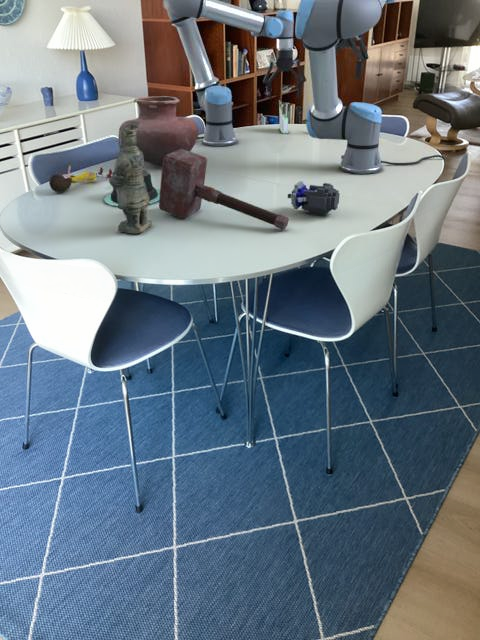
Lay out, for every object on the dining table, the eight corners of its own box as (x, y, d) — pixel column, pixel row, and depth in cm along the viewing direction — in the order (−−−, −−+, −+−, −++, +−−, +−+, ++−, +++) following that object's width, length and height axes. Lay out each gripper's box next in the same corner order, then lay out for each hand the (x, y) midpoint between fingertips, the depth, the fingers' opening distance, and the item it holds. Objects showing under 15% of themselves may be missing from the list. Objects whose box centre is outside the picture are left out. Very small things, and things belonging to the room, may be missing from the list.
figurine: (118, 166, 204) (64, 174, 185) (119, 186, 207) (65, 196, 188) (93, 161, 211) (38, 168, 191) (95, 181, 214) (40, 190, 195)
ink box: (285, 129, 277) (285, 99, 270) (288, 133, 268) (288, 102, 261) (278, 129, 277) (278, 99, 269) (281, 133, 268) (281, 103, 261)
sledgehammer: (299, 190, 156) (179, 147, 167) (285, 200, 148) (161, 154, 160) (286, 244, 166) (174, 200, 177) (272, 256, 158) (156, 209, 170)
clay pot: (207, 155, 234) (203, 91, 222) (188, 175, 209) (184, 105, 196) (138, 153, 239) (131, 91, 226) (112, 172, 214) (103, 104, 201)
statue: (131, 220, 168) (117, 116, 152) (158, 224, 164) (147, 118, 149) (109, 233, 159) (93, 124, 144) (138, 237, 156) (124, 126, 140)
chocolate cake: (91, 202, 180) (113, 186, 197) (142, 231, 182) (160, 212, 199) (107, 162, 172) (129, 148, 190) (160, 192, 174) (177, 176, 192)
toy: (295, 178, 172) (342, 184, 166) (295, 205, 177) (340, 211, 171) (285, 186, 166) (333, 192, 160) (284, 213, 170) (331, 220, 164)
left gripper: (310, 47, 258) (308, 96, 268) (256, 49, 256) (257, 98, 267) (313, 48, 251) (311, 98, 262) (258, 51, 250) (259, 101, 261)
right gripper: (370, 18, 218) (365, 76, 229) (312, 21, 211) (310, 81, 222) (380, 19, 212) (375, 79, 223) (321, 22, 205) (318, 84, 216)
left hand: (284, 98), depth 265 cm, fingers open, 13 cm apart
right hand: (342, 80), depth 223 cm, fingers open, 13 cm apart
